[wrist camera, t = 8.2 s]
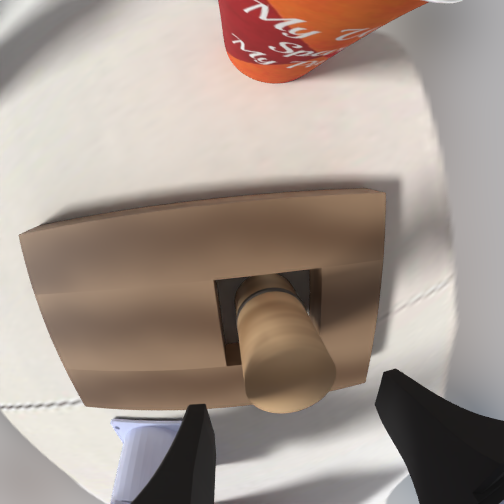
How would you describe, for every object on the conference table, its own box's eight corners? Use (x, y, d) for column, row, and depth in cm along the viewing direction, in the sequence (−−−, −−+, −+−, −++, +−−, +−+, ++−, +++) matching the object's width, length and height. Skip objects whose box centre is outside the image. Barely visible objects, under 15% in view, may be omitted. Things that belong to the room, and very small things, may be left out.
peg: (296, 322, 20) (332, 404, 12) (237, 330, 19) (248, 419, 12) (295, 268, 18) (341, 338, 11) (230, 275, 18) (239, 354, 11)
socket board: (353, 363, 22) (365, 382, 19) (94, 386, 20) (85, 406, 18) (365, 188, 17) (385, 193, 15) (38, 225, 16) (18, 234, 13)
